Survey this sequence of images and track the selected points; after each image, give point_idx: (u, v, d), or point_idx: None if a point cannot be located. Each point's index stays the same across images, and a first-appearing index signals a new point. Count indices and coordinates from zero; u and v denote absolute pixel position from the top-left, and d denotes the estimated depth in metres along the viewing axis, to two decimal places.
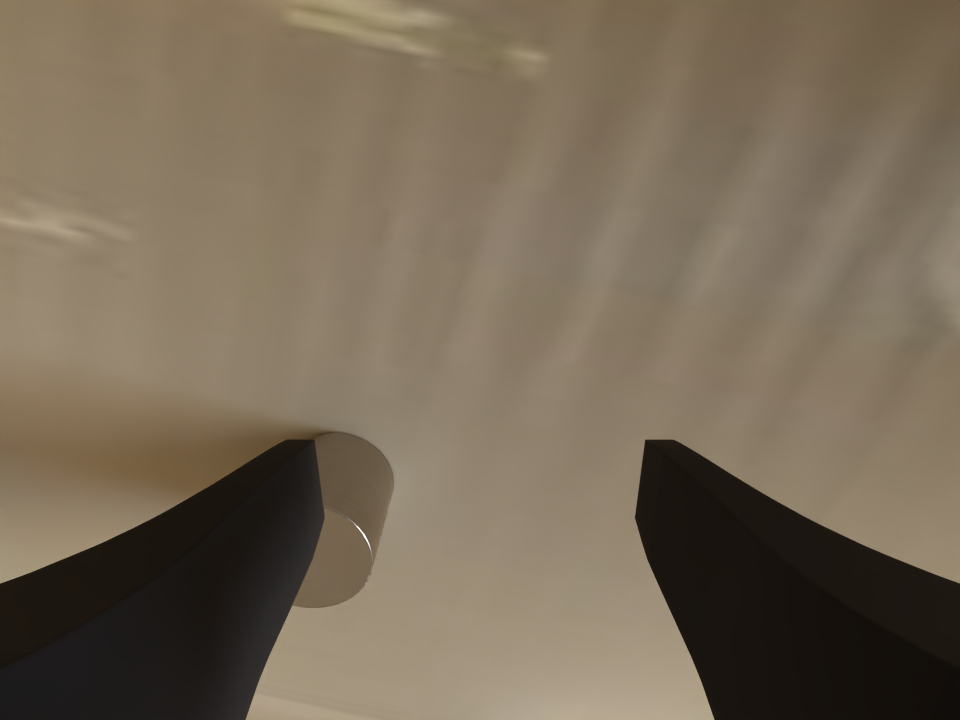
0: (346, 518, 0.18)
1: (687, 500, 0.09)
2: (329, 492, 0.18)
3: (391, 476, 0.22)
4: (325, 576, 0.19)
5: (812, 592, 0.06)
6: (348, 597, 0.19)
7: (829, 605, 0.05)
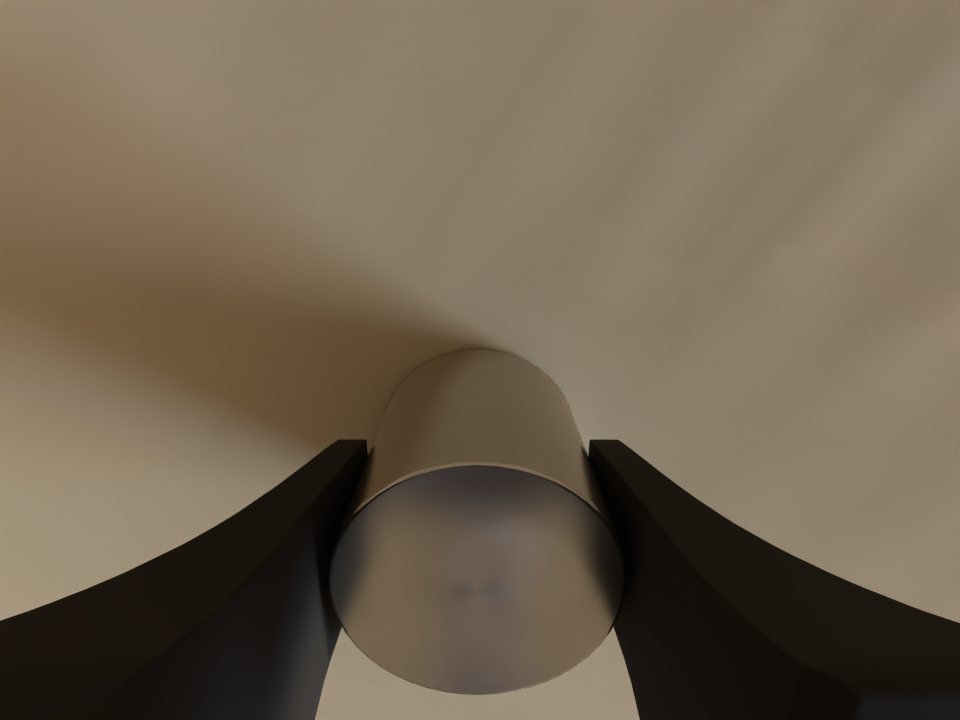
0: (612, 530, 0.08)
1: (619, 500, 0.09)
2: (567, 461, 0.08)
3: None
4: (497, 637, 0.09)
5: (707, 592, 0.06)
6: (522, 687, 0.09)
7: (718, 606, 0.05)
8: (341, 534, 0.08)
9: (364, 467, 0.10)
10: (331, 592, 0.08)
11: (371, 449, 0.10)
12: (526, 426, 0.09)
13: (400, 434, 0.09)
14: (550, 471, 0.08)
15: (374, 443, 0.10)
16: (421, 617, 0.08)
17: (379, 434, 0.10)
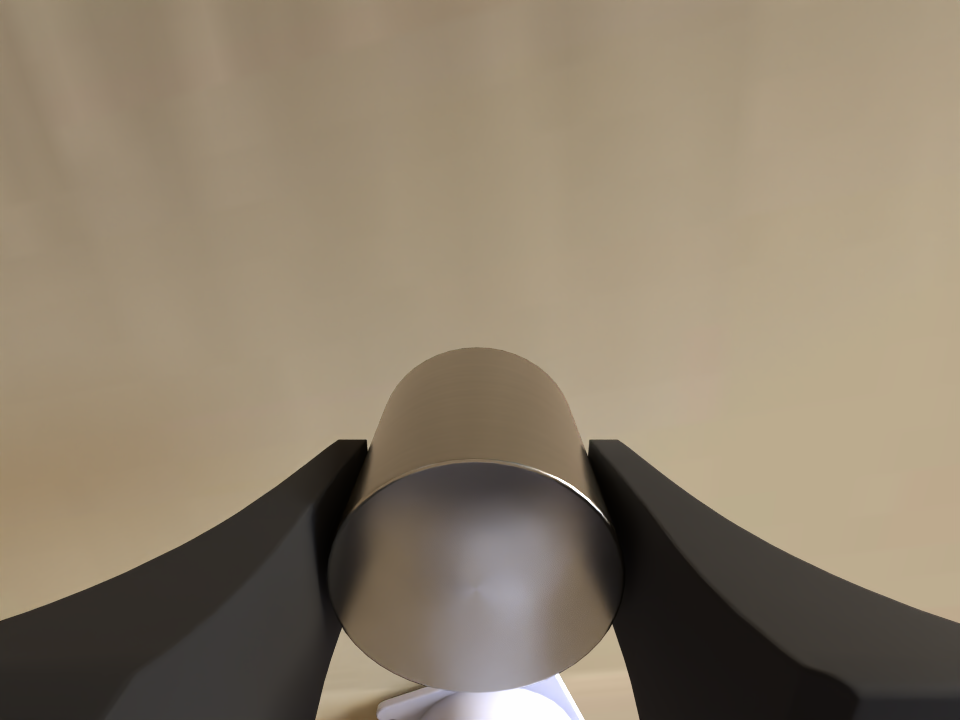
0: (611, 527, 0.08)
1: (619, 500, 0.09)
2: (566, 459, 0.08)
3: None
4: (496, 635, 0.08)
5: (706, 592, 0.06)
6: (521, 685, 0.09)
7: (718, 606, 0.05)
8: (339, 531, 0.08)
9: (363, 465, 0.09)
10: (329, 590, 0.08)
11: (370, 447, 0.10)
12: (525, 424, 0.09)
13: (398, 431, 0.09)
14: (548, 468, 0.08)
15: (373, 441, 0.10)
16: (420, 614, 0.08)
17: (378, 432, 0.10)
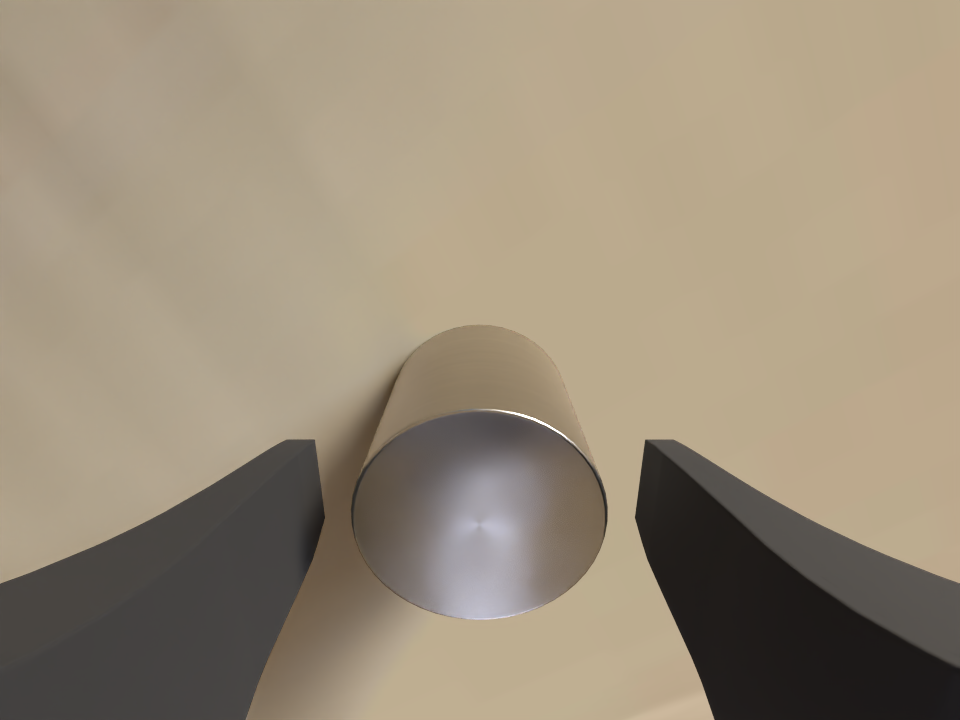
0: (594, 470, 0.09)
1: (687, 500, 0.09)
2: (557, 413, 0.10)
3: None
4: (496, 566, 0.10)
5: (812, 592, 0.06)
6: (518, 612, 0.10)
7: (829, 606, 0.05)
8: (362, 473, 0.09)
9: (380, 423, 0.11)
10: (353, 525, 0.10)
11: (385, 409, 0.11)
12: (522, 384, 0.10)
13: (411, 392, 0.10)
14: (541, 418, 0.09)
15: (388, 404, 0.11)
16: (431, 547, 0.10)
17: (392, 397, 0.12)
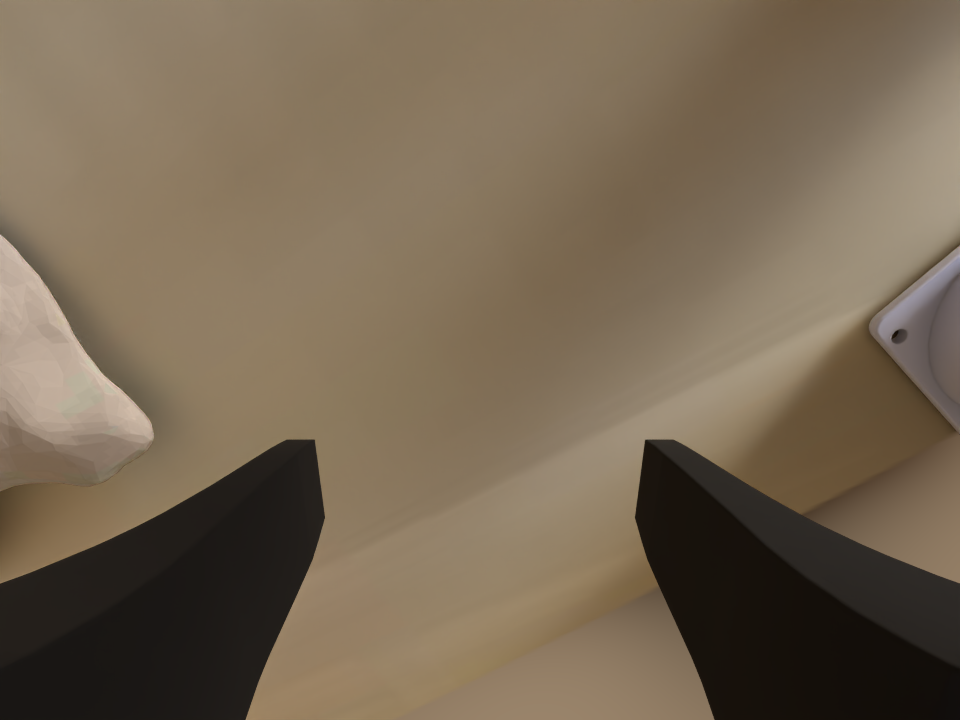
0: None
1: (687, 500, 0.09)
2: None
3: None
4: None
5: (812, 592, 0.06)
6: None
7: (829, 606, 0.05)
8: None
9: None
10: None
11: None
12: None
13: None
14: None
15: None
16: None
17: None
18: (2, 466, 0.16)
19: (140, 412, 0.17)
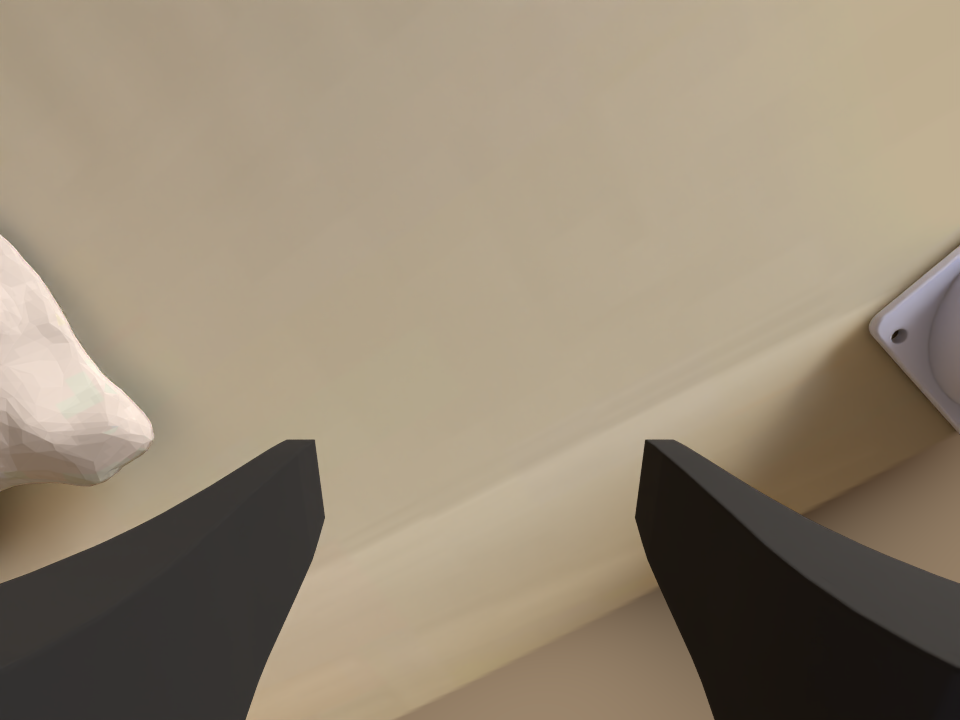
0: None
1: (687, 500, 0.09)
2: None
3: None
4: None
5: (812, 592, 0.06)
6: None
7: (829, 606, 0.05)
8: None
9: None
10: None
11: None
12: None
13: None
14: None
15: None
16: None
17: None
18: (2, 466, 0.16)
19: (140, 412, 0.17)
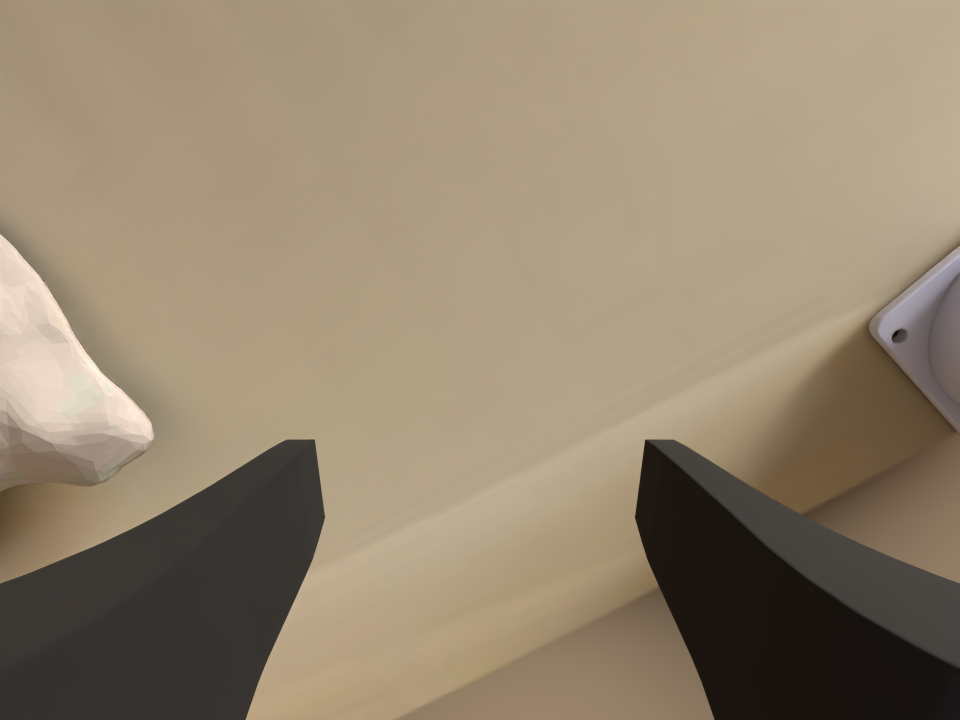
0: None
1: (687, 500, 0.09)
2: None
3: None
4: None
5: (812, 592, 0.06)
6: None
7: (829, 606, 0.05)
8: None
9: None
10: None
11: None
12: None
13: None
14: None
15: None
16: None
17: None
18: (2, 466, 0.16)
19: (140, 412, 0.17)
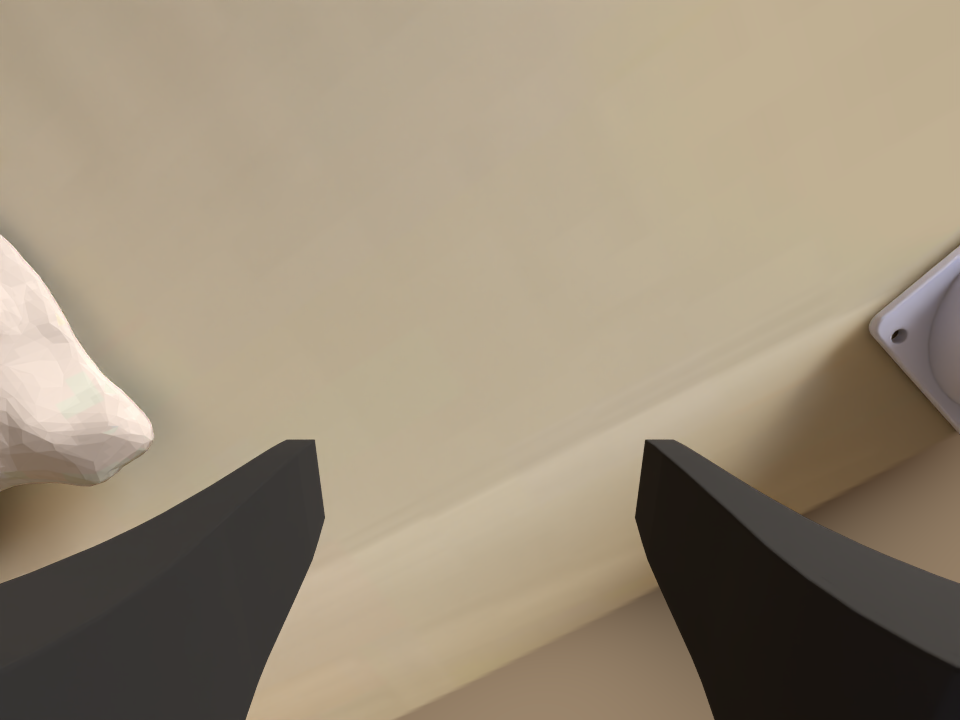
0: None
1: (687, 500, 0.09)
2: None
3: None
4: None
5: (812, 592, 0.06)
6: None
7: (829, 606, 0.05)
8: None
9: None
10: None
11: None
12: None
13: None
14: None
15: None
16: None
17: None
18: (2, 466, 0.16)
19: (140, 412, 0.17)
